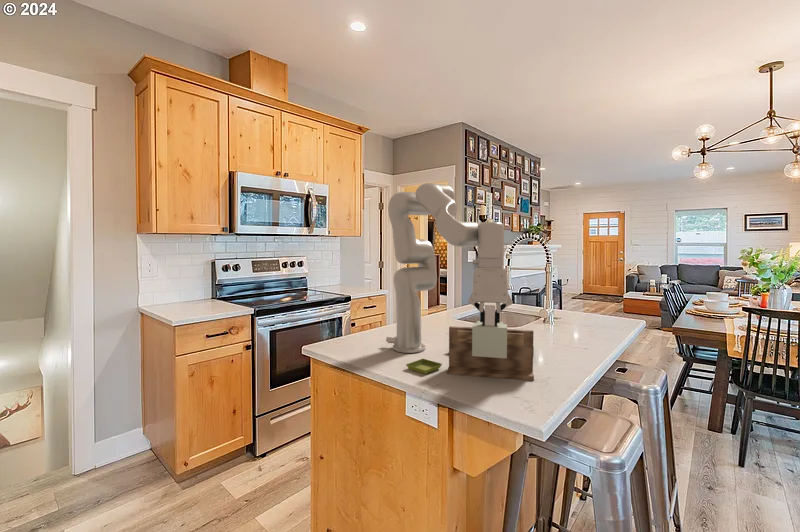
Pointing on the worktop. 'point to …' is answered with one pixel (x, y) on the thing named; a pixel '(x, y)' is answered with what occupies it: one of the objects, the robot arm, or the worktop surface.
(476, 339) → the pale green stepped block
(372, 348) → the worktop surface
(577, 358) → the worktop surface
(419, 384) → the worktop surface
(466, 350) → the wall board
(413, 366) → the olive green square tray
